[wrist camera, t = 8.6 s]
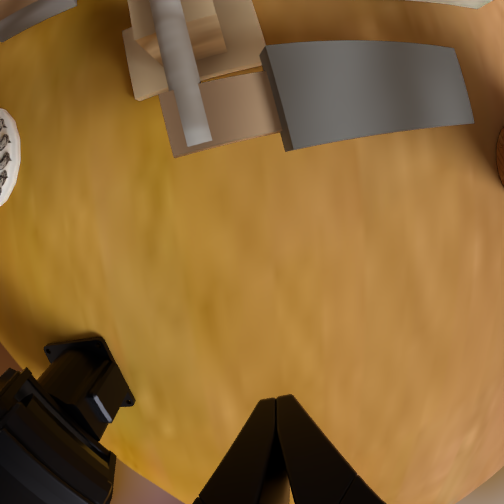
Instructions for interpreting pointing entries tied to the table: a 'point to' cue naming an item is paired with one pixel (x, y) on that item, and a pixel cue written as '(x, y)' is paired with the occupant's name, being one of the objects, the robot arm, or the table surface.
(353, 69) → the lever
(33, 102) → the table surface
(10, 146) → the decorative candle
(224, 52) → the fulcrum stand
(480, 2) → the white storage tray
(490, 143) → the table surface
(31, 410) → the robot arm
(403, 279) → the table surface
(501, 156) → the disposable coffee cup
